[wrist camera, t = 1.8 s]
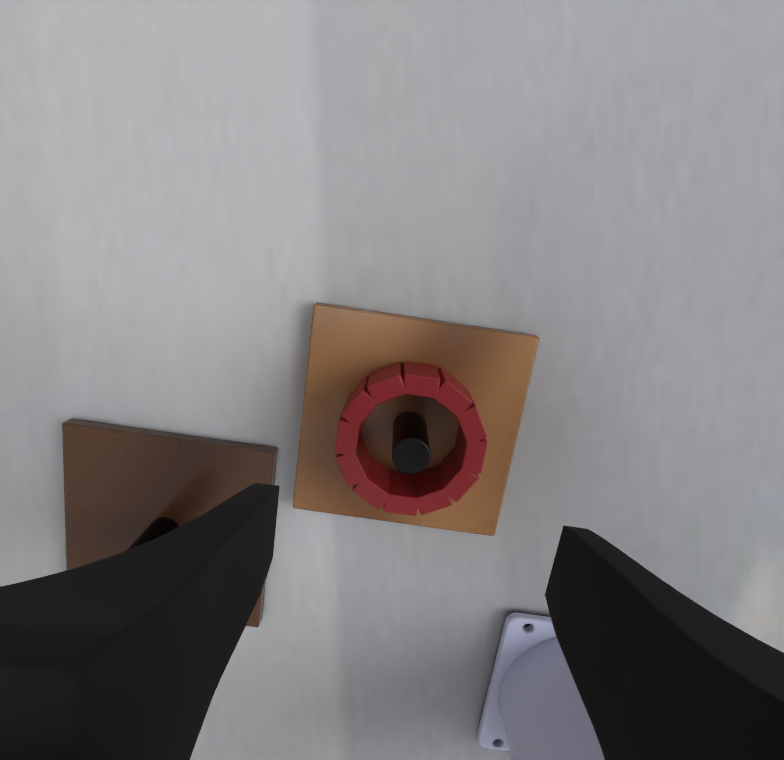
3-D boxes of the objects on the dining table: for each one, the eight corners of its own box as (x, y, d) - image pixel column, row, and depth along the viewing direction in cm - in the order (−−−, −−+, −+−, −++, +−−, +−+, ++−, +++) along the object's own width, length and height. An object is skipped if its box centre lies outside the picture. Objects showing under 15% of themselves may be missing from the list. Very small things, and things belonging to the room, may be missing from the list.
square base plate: (277, 447, 21) (235, 513, 15) (261, 618, 23) (220, 727, 18) (70, 418, 21) (-44, 474, 15) (75, 593, 23) (-24, 696, 18)
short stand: (535, 335, 19) (565, 352, 16) (492, 529, 22) (509, 581, 18) (316, 302, 19) (298, 312, 16) (295, 501, 21) (274, 549, 18)
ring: (489, 372, 19) (500, 386, 17) (463, 497, 21) (471, 524, 18) (351, 352, 19) (345, 364, 17) (335, 478, 20) (327, 504, 18)
